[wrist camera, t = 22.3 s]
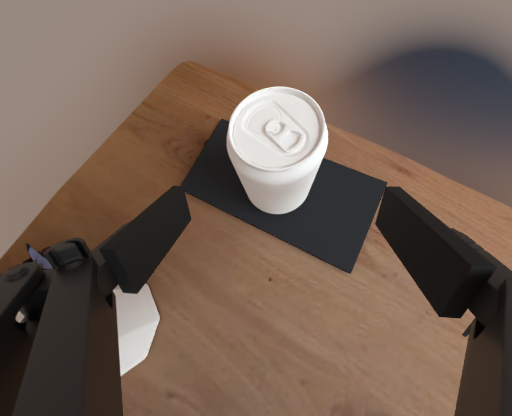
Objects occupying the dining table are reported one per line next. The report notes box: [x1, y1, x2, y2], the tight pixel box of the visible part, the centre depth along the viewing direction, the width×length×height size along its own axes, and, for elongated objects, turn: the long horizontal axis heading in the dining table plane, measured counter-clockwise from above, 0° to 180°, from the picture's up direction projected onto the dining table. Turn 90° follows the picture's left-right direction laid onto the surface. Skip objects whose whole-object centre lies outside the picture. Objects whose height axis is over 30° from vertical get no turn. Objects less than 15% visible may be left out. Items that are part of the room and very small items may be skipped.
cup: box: [16, 284, 160, 376], centre depth 16 cm, size 11×11×18 cm
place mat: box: [181, 119, 387, 273], centre depth 27 cm, size 24×12×1 cm, turn 63°
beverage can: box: [227, 87, 328, 214], centre depth 21 cm, size 8×8×12 cm
